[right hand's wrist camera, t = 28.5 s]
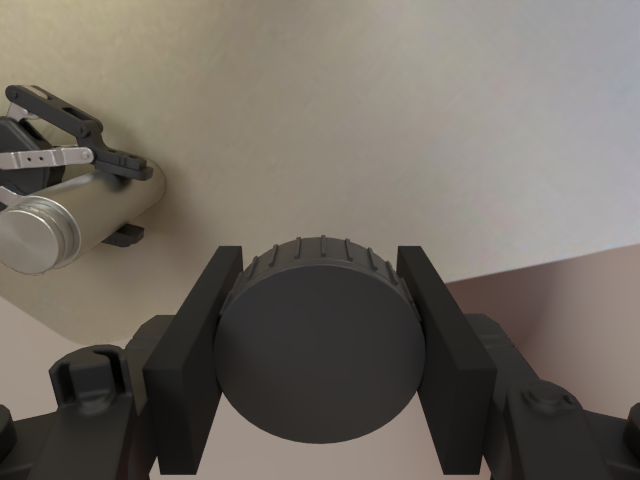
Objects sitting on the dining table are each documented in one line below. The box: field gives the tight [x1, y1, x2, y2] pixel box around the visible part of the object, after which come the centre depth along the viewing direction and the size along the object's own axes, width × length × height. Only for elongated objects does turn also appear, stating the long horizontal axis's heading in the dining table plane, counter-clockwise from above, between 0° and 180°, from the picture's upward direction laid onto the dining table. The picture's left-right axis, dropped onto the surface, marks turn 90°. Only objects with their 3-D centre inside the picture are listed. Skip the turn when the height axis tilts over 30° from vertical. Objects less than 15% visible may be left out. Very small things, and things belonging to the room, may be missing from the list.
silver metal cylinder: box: [0, 157, 166, 276], centre depth 31 cm, size 5×5×16 cm
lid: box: [213, 235, 426, 444], centre depth 11 cm, size 5×6×2 cm
